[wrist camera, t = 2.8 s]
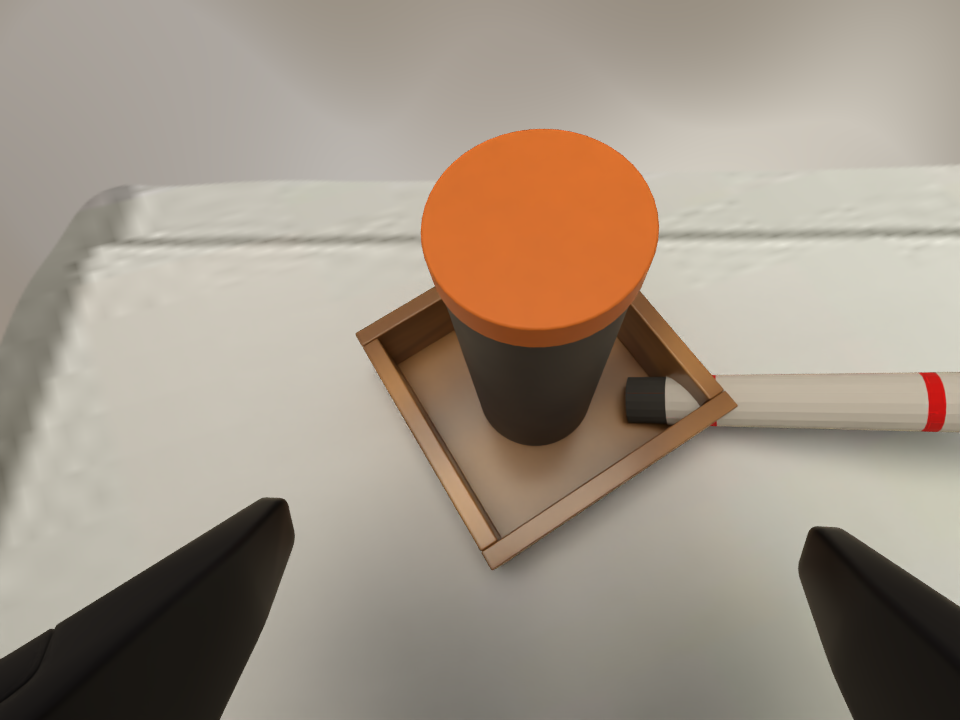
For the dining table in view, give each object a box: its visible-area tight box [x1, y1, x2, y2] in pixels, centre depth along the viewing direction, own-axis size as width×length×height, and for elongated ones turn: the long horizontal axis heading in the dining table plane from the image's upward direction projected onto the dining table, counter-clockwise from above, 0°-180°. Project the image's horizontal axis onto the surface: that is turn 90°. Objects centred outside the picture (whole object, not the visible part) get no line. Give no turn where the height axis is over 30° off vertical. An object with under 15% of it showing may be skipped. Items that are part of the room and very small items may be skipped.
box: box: [356, 287, 738, 570], centre depth 21 cm, size 10×10×4 cm
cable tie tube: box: [421, 129, 659, 446], centre depth 17 cm, size 5×5×12 cm
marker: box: [625, 372, 960, 432], centre depth 18 cm, size 15×2×2 cm, turn 82°
